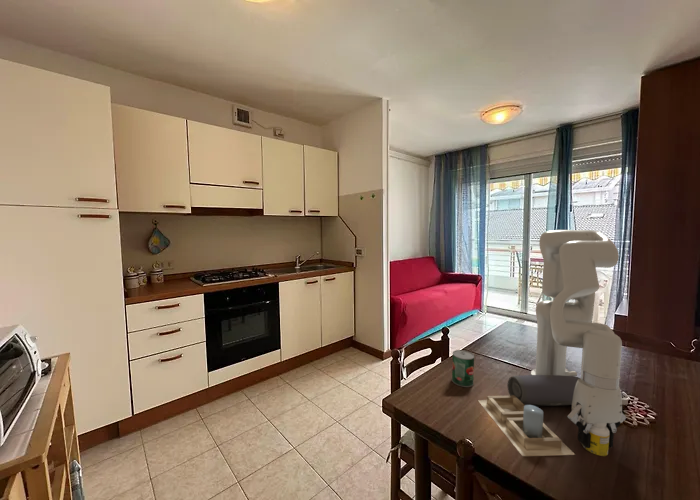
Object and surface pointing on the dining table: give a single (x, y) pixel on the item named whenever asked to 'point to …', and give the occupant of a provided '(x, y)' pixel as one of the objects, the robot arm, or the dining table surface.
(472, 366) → the canned tomato
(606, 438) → the supplement bottle
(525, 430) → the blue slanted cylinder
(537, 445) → the cruet stand
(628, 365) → the dining table surface
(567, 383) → the bluetooth speaker
